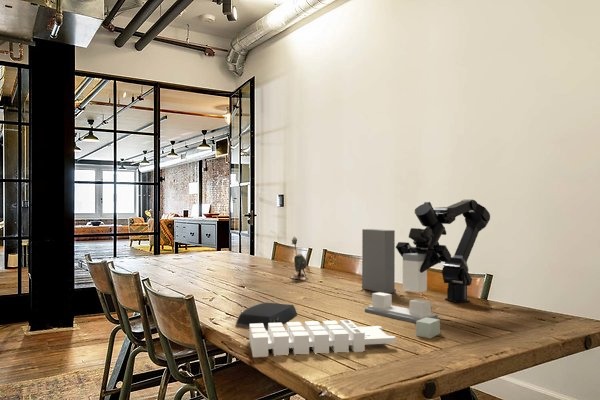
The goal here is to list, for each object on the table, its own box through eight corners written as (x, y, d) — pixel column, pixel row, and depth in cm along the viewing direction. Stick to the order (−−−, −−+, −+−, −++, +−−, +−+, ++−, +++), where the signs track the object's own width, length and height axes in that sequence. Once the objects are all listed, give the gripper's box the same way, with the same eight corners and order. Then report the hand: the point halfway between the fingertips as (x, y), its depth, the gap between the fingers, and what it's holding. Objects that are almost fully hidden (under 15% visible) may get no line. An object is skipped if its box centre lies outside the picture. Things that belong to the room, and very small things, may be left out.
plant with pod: (294, 281, 218) (294, 237, 218) (288, 277, 229) (288, 236, 229) (311, 280, 220) (311, 237, 221) (304, 276, 231) (304, 235, 232)
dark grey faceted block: (232, 326, 138) (233, 312, 138) (262, 312, 156) (263, 300, 156) (273, 331, 133) (273, 316, 133) (299, 316, 151) (299, 303, 151)
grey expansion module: (411, 288, 161) (411, 252, 161) (426, 290, 156) (426, 254, 156) (402, 290, 157) (402, 254, 157) (418, 292, 153) (418, 255, 153)
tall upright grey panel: (396, 292, 191) (396, 230, 191) (385, 294, 187) (385, 230, 187) (372, 287, 202) (372, 228, 202) (361, 289, 199) (361, 229, 199)
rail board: (384, 307, 163) (384, 291, 163) (437, 318, 147) (437, 300, 147) (364, 311, 156) (364, 294, 156) (418, 323, 140) (418, 304, 140)
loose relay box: (426, 331, 132) (426, 317, 132) (439, 334, 130) (439, 319, 130) (416, 336, 128) (416, 321, 128) (430, 338, 125) (429, 323, 125)
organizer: (249, 323, 122) (379, 318, 128) (249, 342, 122) (379, 336, 128) (253, 337, 109) (397, 331, 115) (253, 358, 109) (397, 351, 115)
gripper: (398, 219, 167) (378, 252, 159) (446, 220, 153) (426, 257, 145) (412, 240, 172) (393, 273, 164) (459, 243, 158) (441, 280, 150)
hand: (412, 270), depth 156 cm, fingers closed on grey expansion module, 6 cm apart
